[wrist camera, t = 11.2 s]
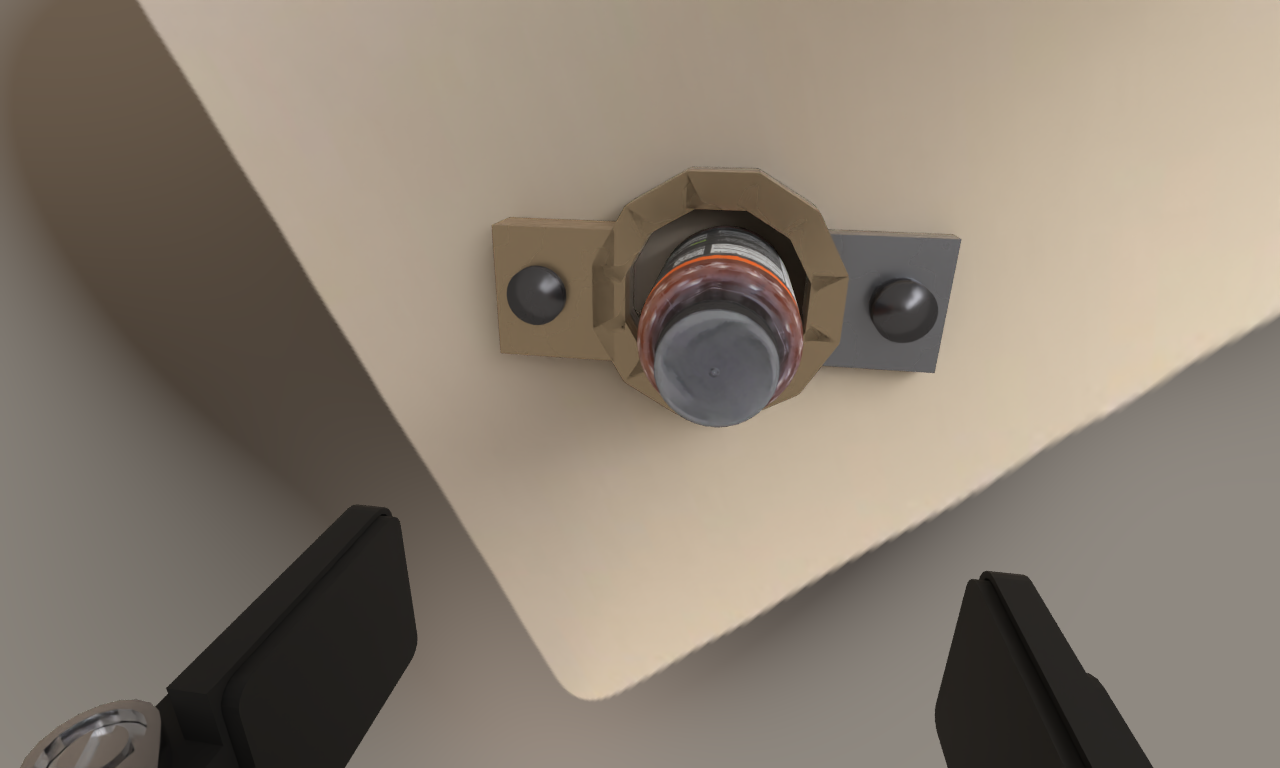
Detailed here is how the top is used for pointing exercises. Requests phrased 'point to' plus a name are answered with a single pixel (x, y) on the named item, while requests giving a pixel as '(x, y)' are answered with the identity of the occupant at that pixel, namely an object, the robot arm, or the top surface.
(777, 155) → the top surface
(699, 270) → the supplement bottle
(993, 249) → the top surface
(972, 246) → the top surface
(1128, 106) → the top surface
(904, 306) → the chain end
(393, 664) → the robot arm
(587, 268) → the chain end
